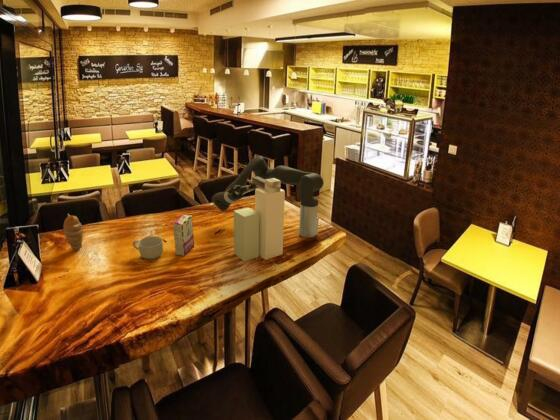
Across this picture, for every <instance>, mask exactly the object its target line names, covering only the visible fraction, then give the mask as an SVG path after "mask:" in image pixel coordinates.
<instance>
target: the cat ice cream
mask: <svg viewBox="0 0 560 420" xmlns="http://www.w3.org/2000/svg"><path fill="white" fill-rule="evenodd" d="M62 228H63V230H64V231H63V235H64V236H65V240H66V241H67V244H68V245H69V246H70V248H71V249H72V250H73V251H76V250H77V251H79V249H80V248H82V246H83V244H82V243H83V235H84V234H83V230H84V229H83V225H82V223H81V222H80V219H79V218H78V217H77V215H70V214H69V213H67V217H66V218H65V219H64V222H63V227H62ZM80 250H81V249H80Z"/></svg>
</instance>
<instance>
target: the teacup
mask: <svg viewBox="0 0 560 420" xmlns="http://www.w3.org/2000/svg"><path fill="white" fill-rule="evenodd" d="M163 242H164V241H163V238H162V237H160V236H157V235H150V236H149V235H148V236H145V237H143V238H141V239H135V240H133V241H132V246H133V248H134V249H135V250H138V252H139V254H140V256H141V257H142V258H143V259H146V260H155V259H157V258H159V257H160V256H161V255H162V254H163V252H164V245H163V244H164V243H163ZM136 243H137V244H136ZM137 245H138V246H137Z"/></svg>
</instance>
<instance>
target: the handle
mask: <svg viewBox="0 0 560 420" xmlns="http://www.w3.org/2000/svg"><path fill="white" fill-rule="evenodd" d="M251 184H255V185H256V187H258V188H263V189H265V191H267V192H269V193H275V192H280V189H281V186H282V185H281V184H282V183H281V181H280V180H278V179H275V178H271V179H267V178H261V177H258V176H256V175H255V176H252V177H251Z"/></svg>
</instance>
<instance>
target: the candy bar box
mask: <svg viewBox="0 0 560 420" xmlns="http://www.w3.org/2000/svg"><path fill="white" fill-rule="evenodd" d="M193 224H194V223H193V215H188V214H182V215H181V216H179V217H178V218H177V219H176V220H175V221H174V222H173V223H172V228H173V230H172V231H173V239H174V249H175V255H177V256H182V257H185V256H187V254H188V253H189V252H190V251H191V250H192V249H193V248H194V247H195V238H194V226H193Z"/></svg>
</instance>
